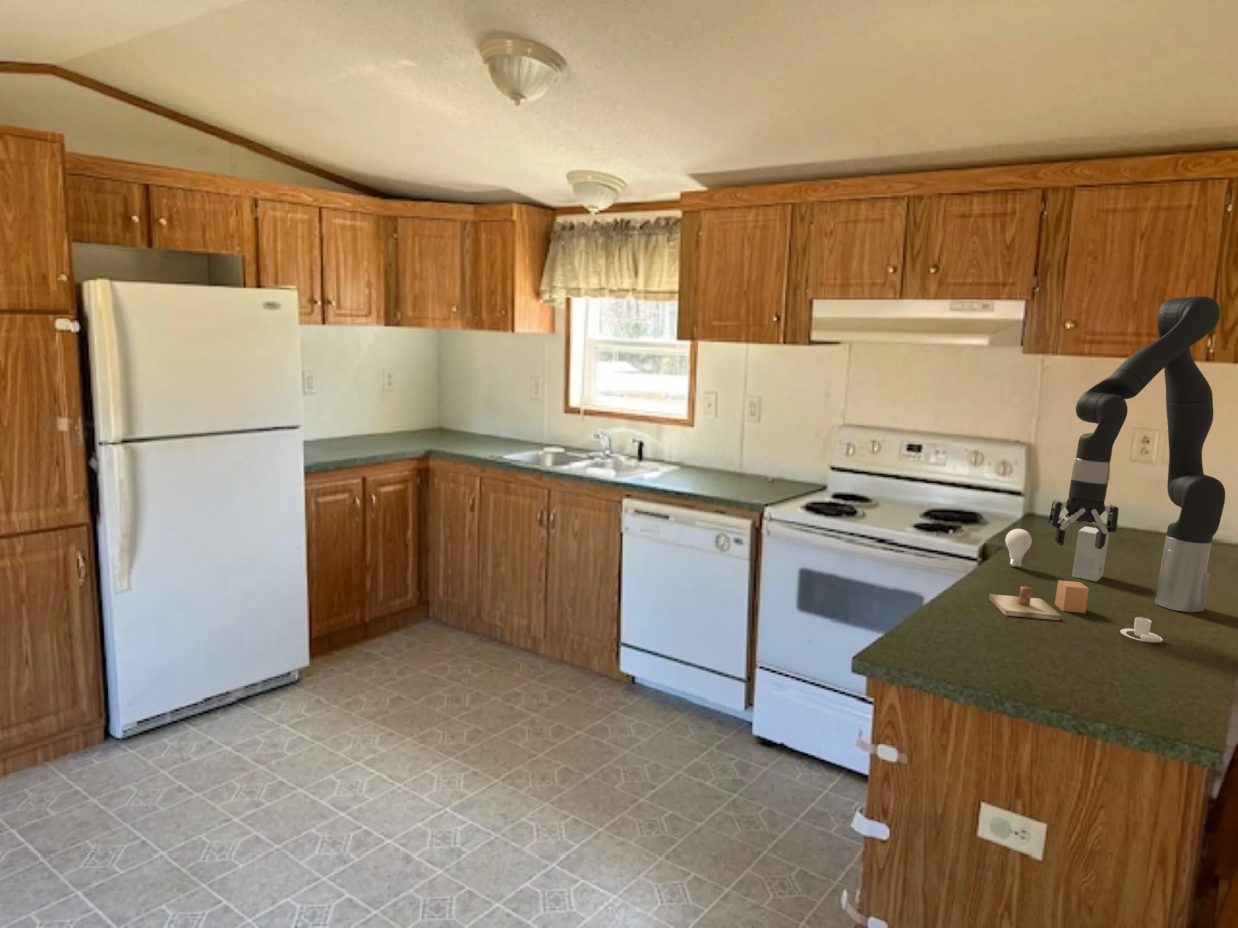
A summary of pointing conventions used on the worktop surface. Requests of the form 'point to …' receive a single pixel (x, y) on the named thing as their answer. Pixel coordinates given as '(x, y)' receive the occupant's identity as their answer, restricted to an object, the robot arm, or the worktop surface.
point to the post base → (1024, 605)
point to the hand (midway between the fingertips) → (1078, 546)
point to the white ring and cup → (1142, 631)
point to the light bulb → (1018, 545)
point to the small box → (1089, 555)
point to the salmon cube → (1071, 596)
